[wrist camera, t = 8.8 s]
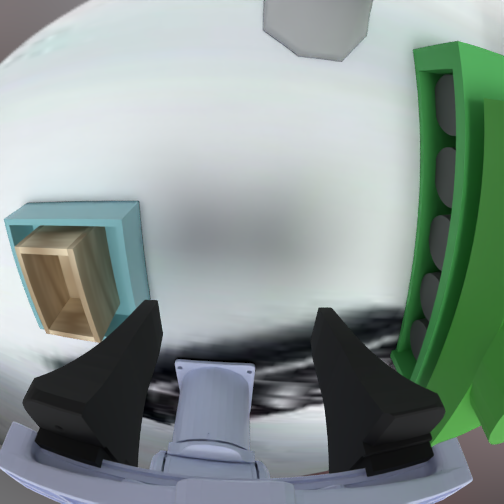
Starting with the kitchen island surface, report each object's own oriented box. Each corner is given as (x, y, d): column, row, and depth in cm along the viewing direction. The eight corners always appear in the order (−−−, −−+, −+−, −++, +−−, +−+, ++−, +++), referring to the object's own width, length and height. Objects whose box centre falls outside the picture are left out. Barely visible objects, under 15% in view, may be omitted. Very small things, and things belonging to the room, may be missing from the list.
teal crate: (153, 318, 26) (144, 345, 23) (55, 306, 25) (40, 328, 22) (138, 201, 21) (121, 219, 18) (27, 202, 20) (3, 219, 17)
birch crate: (103, 217, 21) (72, 249, 16) (120, 303, 24) (101, 342, 20) (48, 218, 20) (14, 246, 16) (69, 298, 24) (46, 333, 20)
